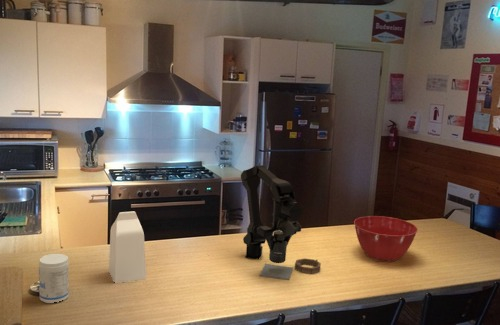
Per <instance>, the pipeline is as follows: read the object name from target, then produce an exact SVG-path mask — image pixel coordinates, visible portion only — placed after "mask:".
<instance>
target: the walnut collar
mask: <svg viewBox="0 0 500 325" xmlns="http://www.w3.org/2000/svg"><path fill="white" fill-rule="evenodd" d="M305 265H306V266H305ZM321 265H322V264H321V262H320V261H319V260H318V259H313V258H305V257H304V258H299V259H296V260H295V262H294V271H297V272H299V273H301V274H305V275H315V274H318V273H320V271H321ZM310 266H312V267H310Z"/></svg>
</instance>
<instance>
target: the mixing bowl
mask: <svg viewBox="0 0 500 325" xmlns="http://www.w3.org/2000/svg"><path fill="white" fill-rule="evenodd" d="M353 224H354V227H355V232H356V238H357V241H358V244H359V246H360V248H361V250H362V251H363V253H364V254H366V256H368V257H369V258H370V259H372V260H376V261H379V262H386V263H387V262H390V263H391V262H394V261H395V262H396V261H397V260H399V259H401V258H402V257H404V256H405V254H406V253H407V252H408V250H409V249H410V247H411V246H412V243H413V242H414V239H415V237H416V234H417V233H418V231H419V230H418V229H419V228H418V227H417V226H416V225H415V224H414V223H412V222H410V221H407V220H404V219H400V218H396V217H390V216H384V215H383V216H382V215H381V216H379V215H367V216H360V217H358V218H355V219H354V221H353Z"/></svg>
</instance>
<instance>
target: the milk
mask: <svg viewBox="0 0 500 325" xmlns="http://www.w3.org/2000/svg"><path fill="white" fill-rule="evenodd" d="M145 247H146V244H145V234H144V229H143V227H142V225H141V222H140V220H139V218H138V215H137V212H136V211H122V212H121V211H120V212H119V213H118V215H117V217H116V218H115V221H114V222H113V223H112V225H111V227H110V237H109V256H108V257H109V260H108V274H109V273H110V274H109V276H110V275H111V276H110V278H111V277H112V278H113V279H112V278H111V279H112V281H113V280H114V281H113V283H114V282H115V283H118V284H122V283H121V282H125V283H129V282H128V281H131V282H136V281H135V280H138V281H142V280H141V279H144V280H147V271H146V270H147V269H146V268H147V267H146V249H145ZM115 283H114V284H115Z"/></svg>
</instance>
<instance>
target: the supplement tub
mask: <svg viewBox="0 0 500 325" xmlns="http://www.w3.org/2000/svg"><path fill="white" fill-rule="evenodd" d="M69 267H70V266H69V257H68V255H66V254H63V253H49V254H46V255H42V257H40V258H39V262H38V284H39V285H38V286H39V287H38V288H39V290H38V291H39V300H40V301H41V302H43V303H46V304H55V303H54V302H57V303H60V302H59V301H61V302H63V301H65V300H66V299H67V298H68V297H69V295H70V290H69V289H70V285H69V284H70V283H69V281H70V277H69V275H70V271H69V269H70V268H69ZM62 300H63V301H62Z"/></svg>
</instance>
